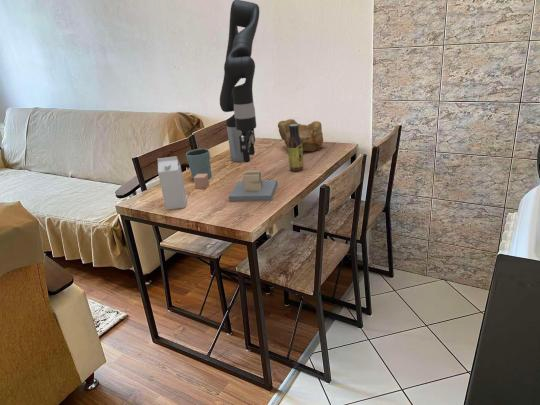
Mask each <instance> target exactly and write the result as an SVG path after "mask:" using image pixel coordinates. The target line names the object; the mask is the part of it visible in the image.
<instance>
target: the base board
mask: <svg viewBox="0 0 540 405" xmlns="http://www.w3.org/2000/svg"><path fill="white" fill-rule="evenodd" d="M262 183H263V185H262V187H261V189H260V191H245V190H244V182H243V180H241V181H240V180H238V182H237V183H236V184H235V187H233V189H232V191H231V193H229V196H228V198H229V202H261V201H263V202H265V201H267V202H268V201H269V202H270V201H272V200H273V197H274V195H275V192H276V190H277V187H278V184H279V183H278V180H277V179H269V180H268V179H267V180H265V179H264V180H263V179H262Z"/></svg>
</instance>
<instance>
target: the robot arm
mask: <svg viewBox="0 0 540 405" xmlns="http://www.w3.org/2000/svg"><path fill="white" fill-rule="evenodd" d="M259 20H260V6H259V4H258V3H255V2H252V1H246V0H233V1H232V3H231V6H230V12H229V27H228V30H229V31H228V40H227V49H226V54H225V61H224V64H223V65H224V66H223V71H224V72H223V73H224V74H223V80H222V86H221V90H220V94H219V106H220V109H221V110H222V112H224V113H229V112H233V114H232V116H230V117H229V118H227V119H226V121H225V123H226V131H227V136H228V137H227V139H228V146H229V153H230V160H231V162H235V163H240V162H241V163H242V162H244V163H250V162H251V156H255V143H256V136H255V129H256V128H257V118H256V109H255V105H254V104H255V102H254V96H253V82H254V77H255V76H254V75H255V70H256V62H255V60H254V58H253V57H252V53H253V52H252V51H253V42H254V37H255V35H256V32H257V29H258V28H257V27H258V24H259ZM238 27H240V28H243V29H242V30H240V31H239V29H238ZM242 79H245V81H244V82H243V83H242V84H239V85H237V84H238V83H239V82H240V80H242Z"/></svg>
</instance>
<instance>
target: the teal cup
mask: <svg viewBox="0 0 540 405" xmlns="http://www.w3.org/2000/svg"><path fill="white" fill-rule="evenodd" d="M210 156H211V155H210V150H209V149H208V148H196V149H192V150H188V151H187V152H186V153H185V157H186V160H187V163H188V165H189V166H188V167H189V171H190V173H191V178H192V180H193V181H194V177H195V176H196V175H197V174H208V179H209V180H210V179H211V178H212V169H211V162H210V160H211V157H210Z"/></svg>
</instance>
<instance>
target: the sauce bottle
mask: <svg viewBox="0 0 540 405" xmlns="http://www.w3.org/2000/svg"><path fill="white" fill-rule="evenodd" d="M298 124H299V123H298ZM298 124H292V125H289V129H290V138H289V140H288V150H287V153H288V152H289V153H288V163H289V166H288V167H289V170H290V171H291V172H299V171H302V170H303V169H304V151H303V147H302V141H301V138H300V136H299V129H298V128H299V125H298Z"/></svg>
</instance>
